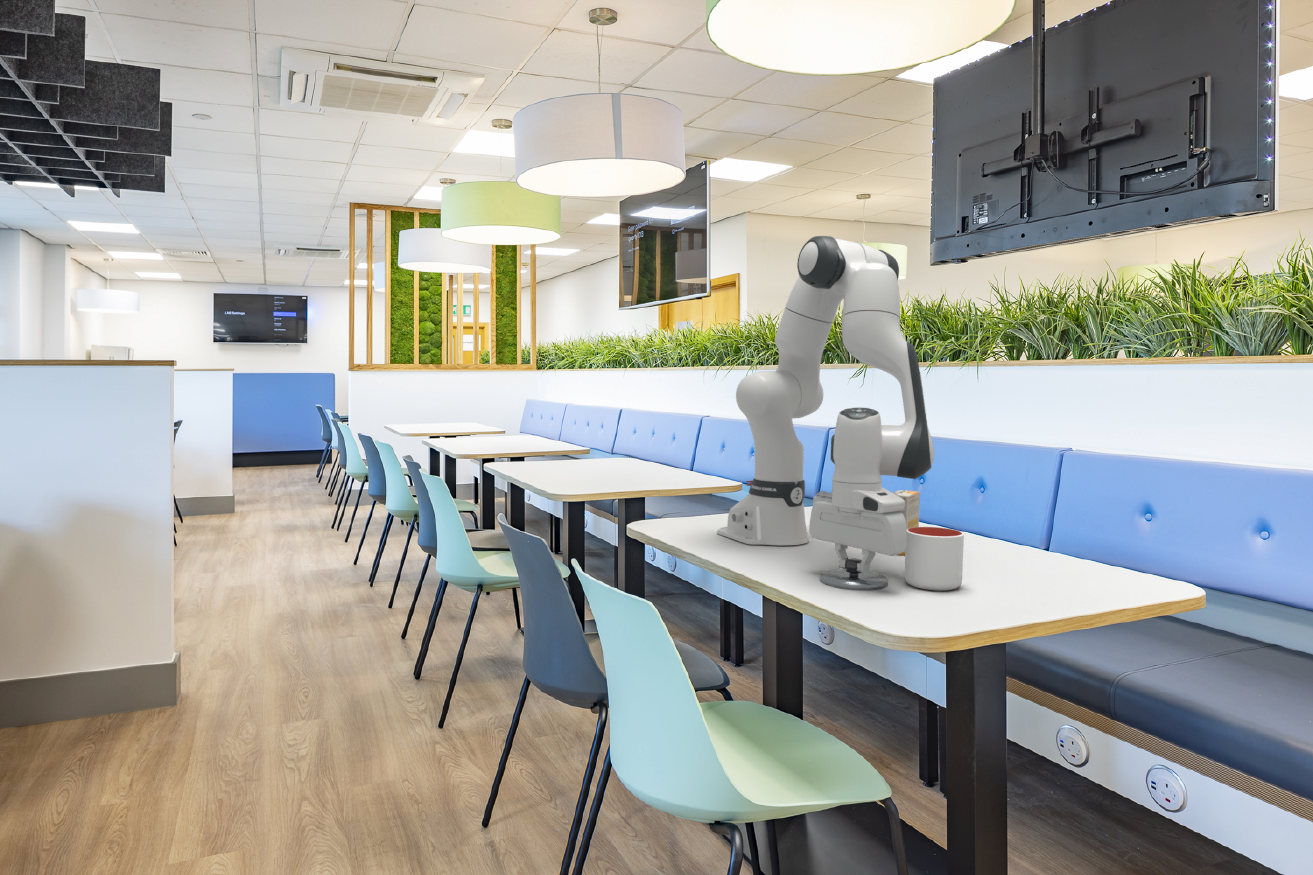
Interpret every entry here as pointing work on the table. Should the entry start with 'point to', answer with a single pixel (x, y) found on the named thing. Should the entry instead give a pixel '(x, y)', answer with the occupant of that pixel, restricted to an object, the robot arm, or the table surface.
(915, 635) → the table surface
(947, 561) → the cup
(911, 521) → the supplement box
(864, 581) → the lid
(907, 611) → the table surface
